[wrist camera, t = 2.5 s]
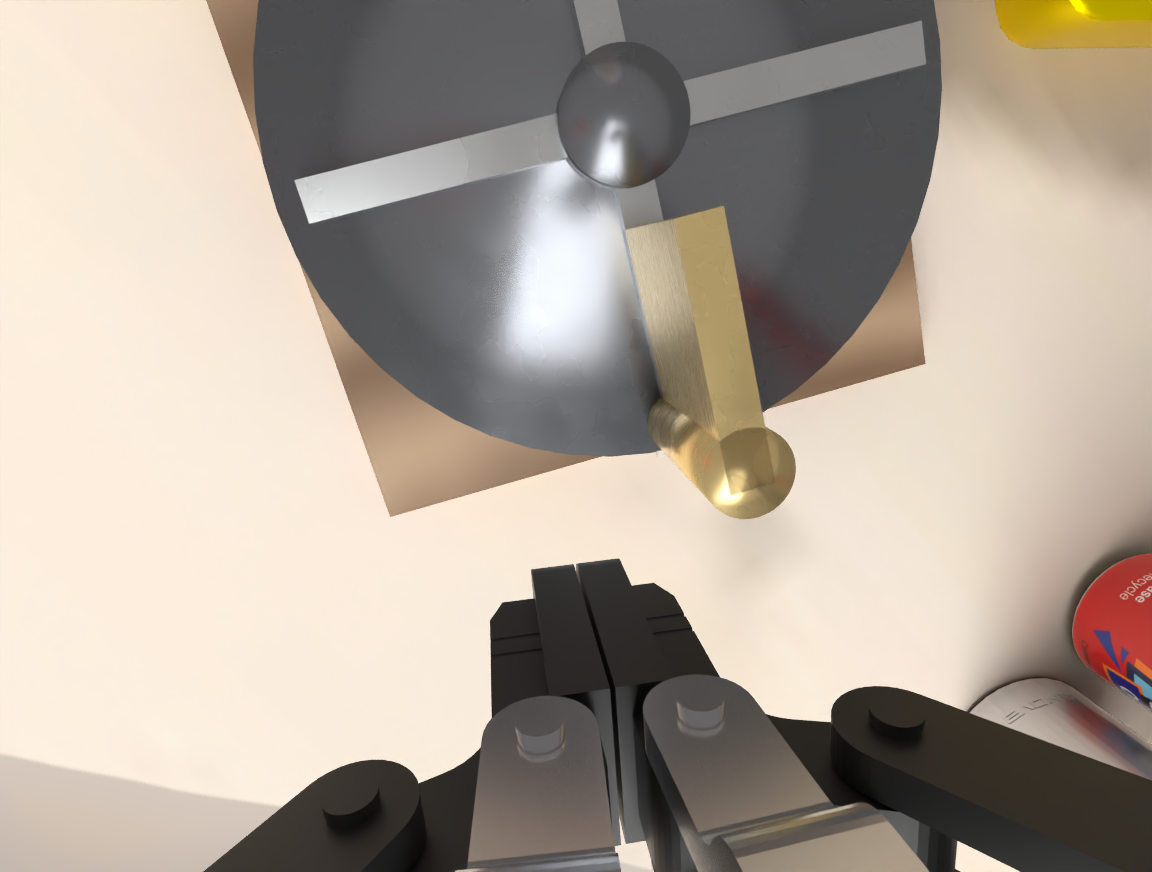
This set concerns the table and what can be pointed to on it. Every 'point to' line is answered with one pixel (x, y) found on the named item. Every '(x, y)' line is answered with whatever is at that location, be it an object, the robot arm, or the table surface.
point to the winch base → (479, 461)
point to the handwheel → (603, 205)
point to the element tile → (1076, 23)
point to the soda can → (1119, 627)
